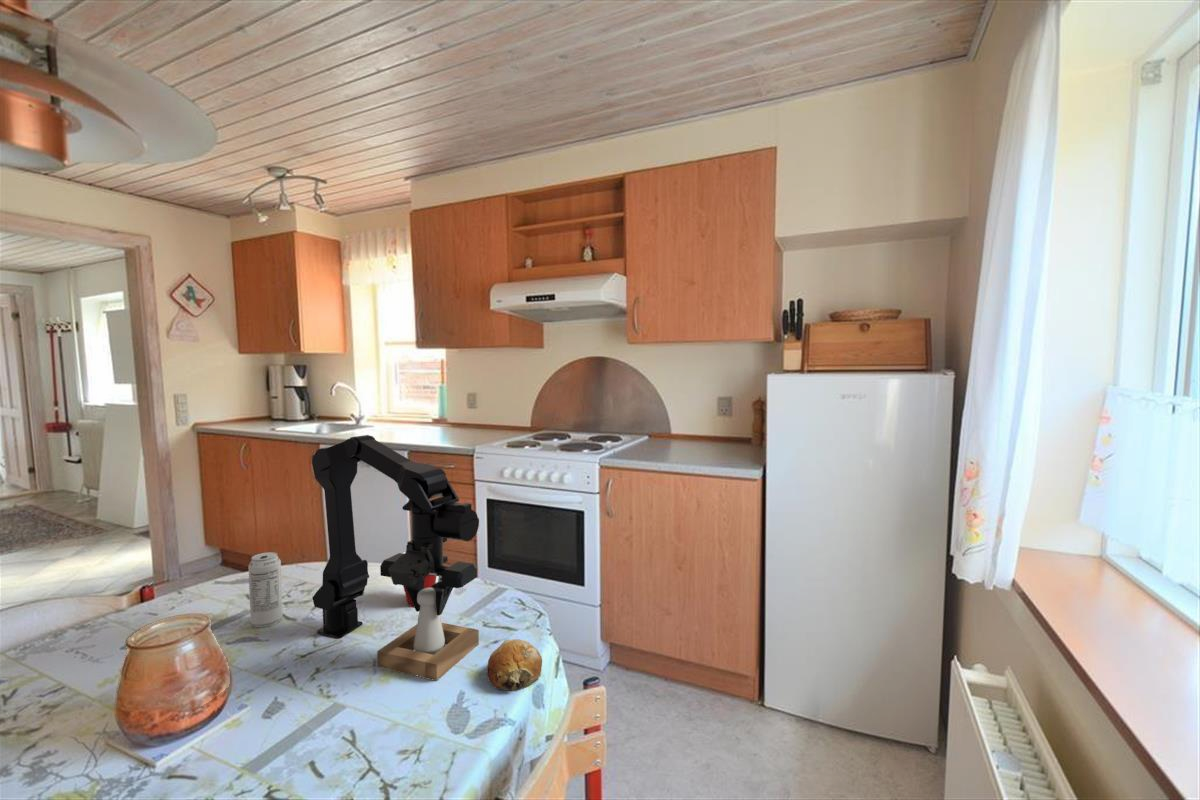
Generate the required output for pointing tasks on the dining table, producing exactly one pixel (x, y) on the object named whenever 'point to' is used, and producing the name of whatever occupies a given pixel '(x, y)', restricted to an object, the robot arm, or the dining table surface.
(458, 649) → the frame
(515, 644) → the bread roll
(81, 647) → the dining table surface
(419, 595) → the salt shaker
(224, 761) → the dining table surface
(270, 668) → the dining table surface
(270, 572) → the energy drink can
